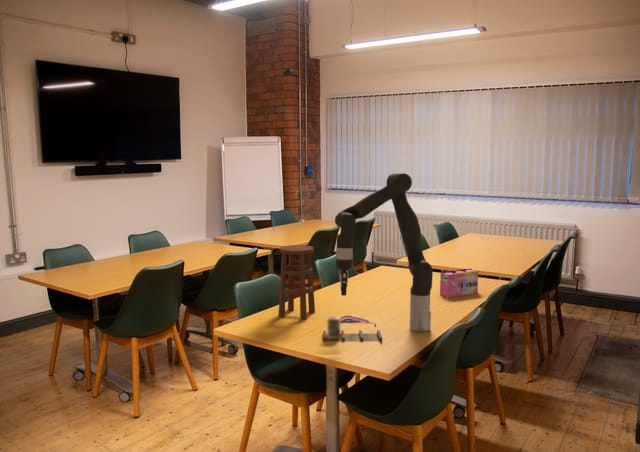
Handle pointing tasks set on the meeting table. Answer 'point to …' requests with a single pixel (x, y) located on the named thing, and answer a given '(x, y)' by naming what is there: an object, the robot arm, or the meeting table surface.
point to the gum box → (458, 282)
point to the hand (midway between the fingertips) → (343, 292)
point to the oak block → (333, 327)
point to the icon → (353, 320)
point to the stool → (291, 284)
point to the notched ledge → (356, 337)
